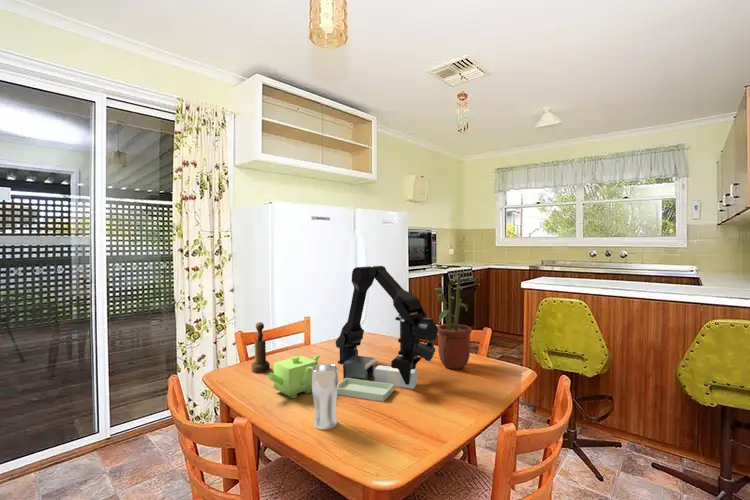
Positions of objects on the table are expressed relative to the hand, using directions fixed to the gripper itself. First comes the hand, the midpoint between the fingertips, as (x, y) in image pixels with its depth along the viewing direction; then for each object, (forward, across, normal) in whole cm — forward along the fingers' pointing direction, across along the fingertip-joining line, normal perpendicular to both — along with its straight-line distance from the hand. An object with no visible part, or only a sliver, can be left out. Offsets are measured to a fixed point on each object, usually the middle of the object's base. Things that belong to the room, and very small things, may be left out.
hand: (409, 382), depth 126 cm
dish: (+1, -10, +12) cm, 16 cm away
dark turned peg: (+1, -4, +57) cm, 57 cm away
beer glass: (+2, -33, +13) cm, 36 cm away
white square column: (+1, 0, +5) cm, 5 cm away
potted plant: (+1, +24, -8) cm, 25 cm away
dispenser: (+1, 0, +18) cm, 18 cm away
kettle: (+2, -17, +32) cm, 36 cm away
